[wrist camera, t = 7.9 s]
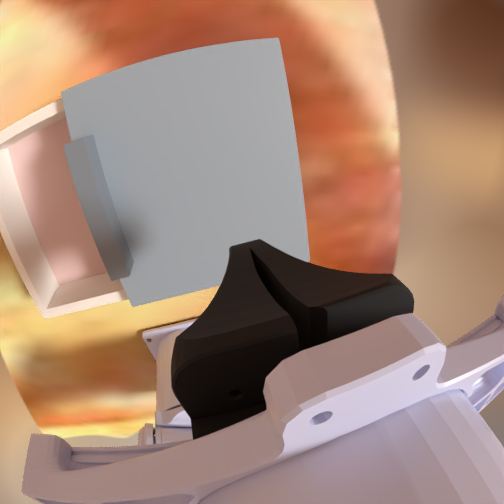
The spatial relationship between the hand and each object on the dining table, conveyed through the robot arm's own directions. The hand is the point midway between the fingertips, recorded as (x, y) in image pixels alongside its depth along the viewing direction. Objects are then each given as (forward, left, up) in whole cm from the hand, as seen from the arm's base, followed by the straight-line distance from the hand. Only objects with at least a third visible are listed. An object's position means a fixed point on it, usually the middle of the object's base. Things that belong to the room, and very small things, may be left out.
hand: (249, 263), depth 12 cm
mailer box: (+3, +10, -10) cm, 15 cm away
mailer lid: (+3, +2, -6) cm, 7 cm away
